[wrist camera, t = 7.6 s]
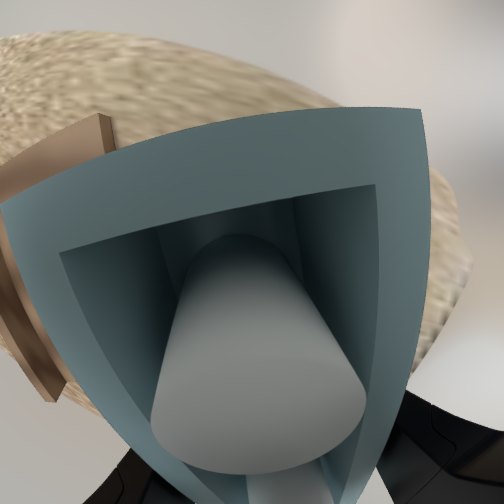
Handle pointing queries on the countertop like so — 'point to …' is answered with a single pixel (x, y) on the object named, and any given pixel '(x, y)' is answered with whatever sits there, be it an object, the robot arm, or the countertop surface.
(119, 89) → the countertop surface
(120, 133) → the countertop surface
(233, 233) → the tray
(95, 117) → the walnut shelf
